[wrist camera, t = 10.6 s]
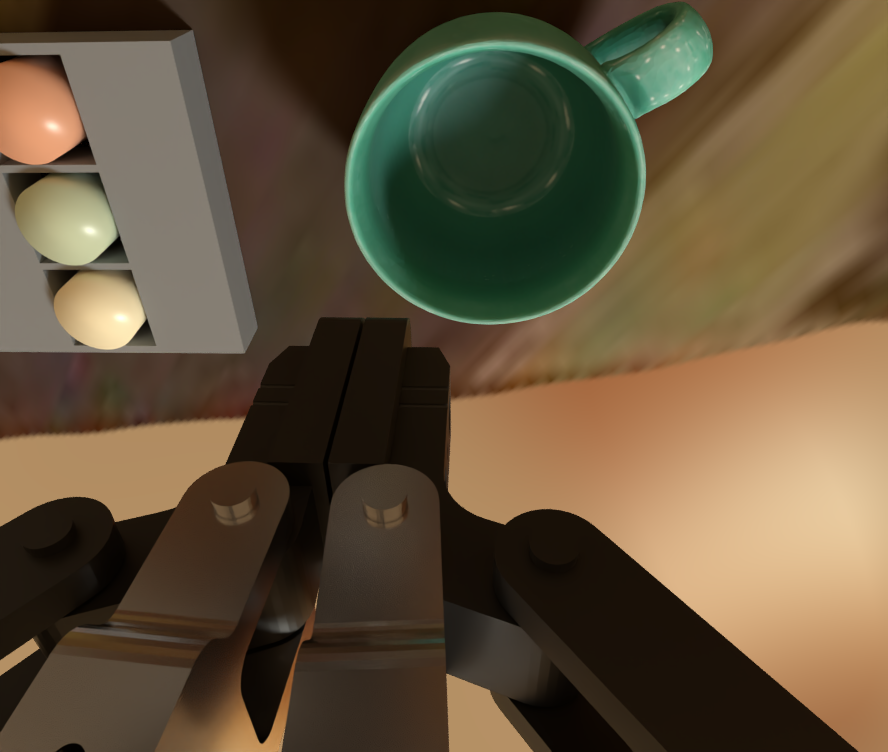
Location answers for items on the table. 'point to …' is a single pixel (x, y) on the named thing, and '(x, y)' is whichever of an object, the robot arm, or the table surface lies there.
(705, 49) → the mug
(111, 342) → the button cream
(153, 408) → the table surface
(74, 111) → the button terracotta
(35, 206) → the button sage
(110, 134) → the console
